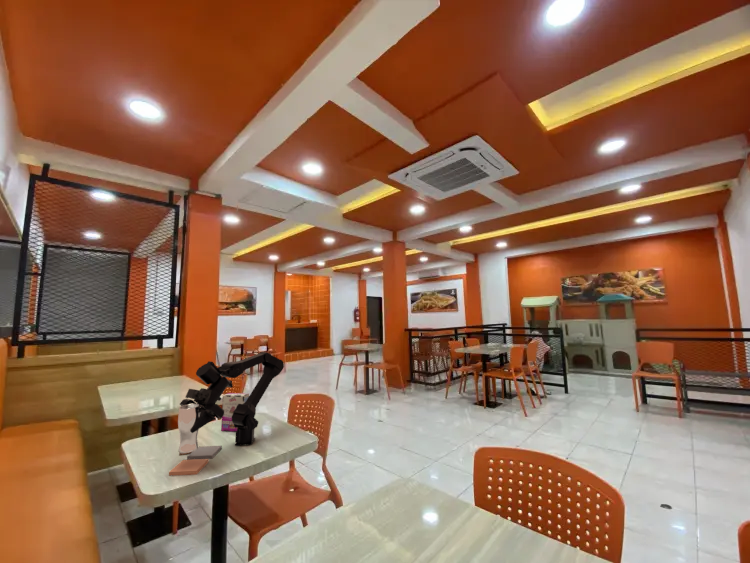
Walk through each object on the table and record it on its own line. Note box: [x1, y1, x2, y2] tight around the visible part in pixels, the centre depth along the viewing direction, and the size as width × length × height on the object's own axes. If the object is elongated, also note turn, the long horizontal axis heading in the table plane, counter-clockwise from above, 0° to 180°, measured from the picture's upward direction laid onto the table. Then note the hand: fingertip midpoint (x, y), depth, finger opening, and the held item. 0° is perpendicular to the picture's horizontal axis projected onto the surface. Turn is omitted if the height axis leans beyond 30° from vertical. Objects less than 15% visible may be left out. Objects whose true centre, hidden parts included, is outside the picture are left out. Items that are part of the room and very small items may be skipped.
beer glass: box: [177, 403, 201, 453], centre depth 113 cm, size 7×7×15 cm
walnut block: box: [178, 452, 192, 456], centre depth 125 cm, size 4×4×4 cm
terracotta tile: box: [168, 459, 210, 477], centre depth 111 cm, size 9×9×1 cm
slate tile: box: [186, 445, 223, 460], centre depth 123 cm, size 9×9×1 cm
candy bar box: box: [220, 392, 250, 433], centre depth 150 cm, size 11×5×16 cm, turn 81°
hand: (185, 430), depth 112 cm, fingers closed on beer glass, 6 cm apart
